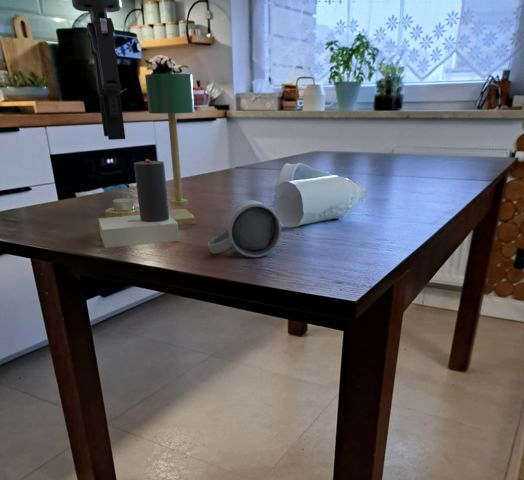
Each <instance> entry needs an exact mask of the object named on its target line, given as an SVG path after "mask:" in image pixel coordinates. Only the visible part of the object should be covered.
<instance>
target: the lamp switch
mask: <svg viewBox="0 0 524 480" xmlns="http://www.w3.org/2000/svg"><path fill="white" fill-rule="evenodd" d="M133 206H134V200H133V198H115V199H112V207H113V208H114V211H117V212H123V211H131V210H134V207H133Z"/></svg>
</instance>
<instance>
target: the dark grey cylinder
mask: <svg viewBox="0 0 524 480" xmlns="http://www.w3.org/2000/svg"><path fill="white" fill-rule="evenodd" d="M133 168H134V176H135V185H136V186H135V187H136V194H137V202H138V207H139V211H140V220H141V221H145V222H159V221H165V220H168V219H169V200H168V190H167V189H168V188H167V181H166V180H167V179H166V178H167V177H166V170H165V169H166V167H165V161H163V160H162V161H161V160H150V159H149V158H145V160H144V161H143V160H142V161H136V162H133Z"/></svg>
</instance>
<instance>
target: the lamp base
mask: <svg viewBox="0 0 524 480" xmlns="http://www.w3.org/2000/svg"><path fill="white" fill-rule="evenodd" d="M133 207H134V210H131V211H123V212H117V211H114V208H113V206H112V207H109V208H106V209H105V218H110V217H123V216H135V215H140V211H139V206H137V205H133ZM168 210H169V209H168ZM169 215H170V216H171V217H172V218H173V216H181V217H177V218H173V219H174V220H175V221H176V222H177V223H178V226H186V225H187V226H188V225H189V226H190V225H196V223H197V222H196V217H195V216H194V215H193V214H192V213H191V212H190V211H189V210H187V209H186V208H181V209H180V208H179V209H170V210H169Z"/></svg>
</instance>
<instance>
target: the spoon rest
mask: <svg viewBox="0 0 524 480" xmlns="http://www.w3.org/2000/svg"><path fill="white" fill-rule="evenodd" d="M330 173H331V172H329V171H322V170H319V169H316V168H314V167H311V166H309V165H308V164H304V163H302V162H299V163H295V164H291V163H285V164H284V165H283V166H282V168H281V169H280V172H279V175H278V177H277V180H276V184H275V187H276V186H278V185H279V184H280V183H282V182H288V181H296V180H305V179H313V178H319V177H326V176H330V175H331V174H330ZM274 190H275V191H274V194H275V193H276V188H275V189H274Z"/></svg>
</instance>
